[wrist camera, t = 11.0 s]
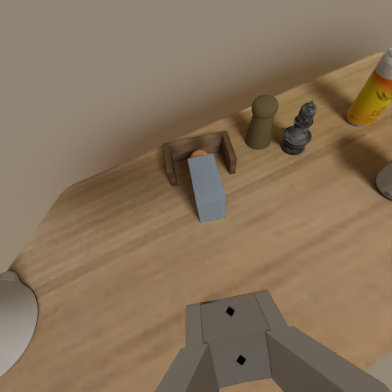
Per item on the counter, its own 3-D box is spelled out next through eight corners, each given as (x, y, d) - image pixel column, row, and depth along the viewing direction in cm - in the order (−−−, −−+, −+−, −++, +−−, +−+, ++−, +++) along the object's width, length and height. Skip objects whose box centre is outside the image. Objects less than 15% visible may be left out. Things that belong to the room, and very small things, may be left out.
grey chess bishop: (274, 147, 49) (288, 102, 38) (288, 133, 50) (306, 86, 40) (296, 160, 46) (318, 115, 36) (311, 145, 48) (336, 98, 38)
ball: (187, 148, 47) (190, 165, 49) (189, 157, 43) (192, 175, 46) (206, 144, 47) (208, 161, 49) (210, 153, 43) (212, 171, 46)
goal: (171, 185, 46) (166, 172, 42) (168, 158, 50) (163, 143, 46) (235, 173, 46) (236, 158, 42) (226, 146, 50) (226, 130, 46)
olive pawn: (241, 145, 50) (246, 106, 41) (249, 129, 53) (255, 87, 43) (266, 152, 48) (278, 112, 39) (273, 134, 51) (285, 93, 41)
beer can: (365, 132, 48) (418, 65, 35) (339, 121, 51) (380, 54, 38) (377, 118, 50) (432, 49, 37) (352, 108, 52) (395, 40, 40)
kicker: (200, 222, 41) (196, 204, 34) (192, 182, 46) (187, 158, 39) (225, 217, 41) (226, 198, 34) (214, 177, 46) (213, 153, 39)
